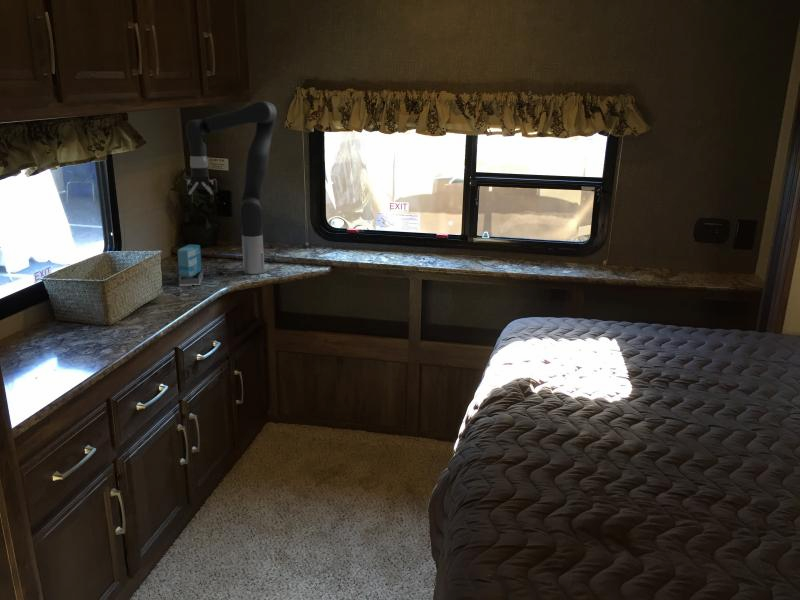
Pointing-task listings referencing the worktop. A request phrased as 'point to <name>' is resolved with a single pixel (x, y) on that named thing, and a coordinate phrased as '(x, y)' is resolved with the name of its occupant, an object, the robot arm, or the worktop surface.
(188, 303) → the worktop surface
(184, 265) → the blue box
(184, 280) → the rail cradle
